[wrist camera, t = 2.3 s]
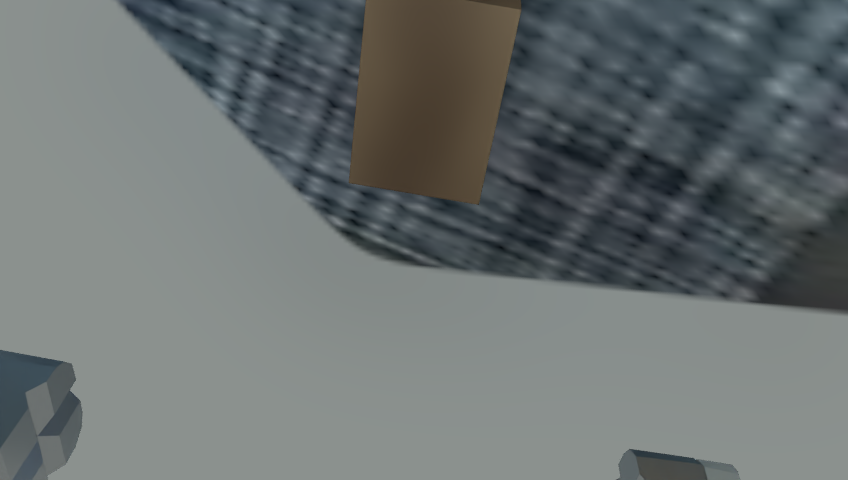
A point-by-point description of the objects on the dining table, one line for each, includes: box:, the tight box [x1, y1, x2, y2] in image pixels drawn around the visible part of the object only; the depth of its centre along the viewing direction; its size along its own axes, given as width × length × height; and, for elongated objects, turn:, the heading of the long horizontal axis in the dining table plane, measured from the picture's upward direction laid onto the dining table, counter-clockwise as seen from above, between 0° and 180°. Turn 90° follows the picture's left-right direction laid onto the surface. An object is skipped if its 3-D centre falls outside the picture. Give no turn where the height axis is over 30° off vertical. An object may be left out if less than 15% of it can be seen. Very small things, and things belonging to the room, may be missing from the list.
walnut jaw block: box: [349, 0, 521, 205], centre depth 24 cm, size 4×6×8 cm, turn 172°
